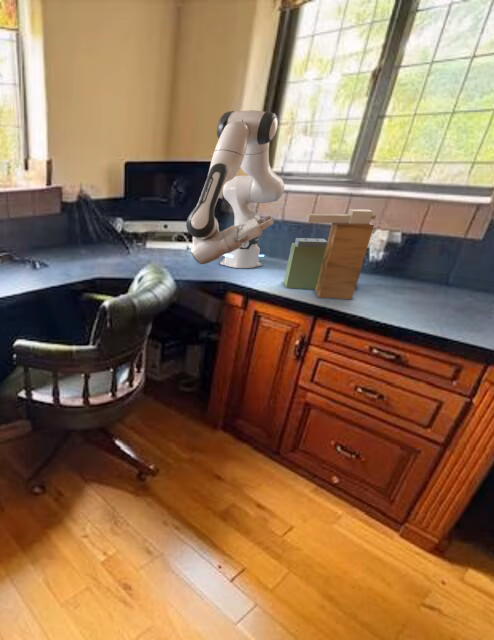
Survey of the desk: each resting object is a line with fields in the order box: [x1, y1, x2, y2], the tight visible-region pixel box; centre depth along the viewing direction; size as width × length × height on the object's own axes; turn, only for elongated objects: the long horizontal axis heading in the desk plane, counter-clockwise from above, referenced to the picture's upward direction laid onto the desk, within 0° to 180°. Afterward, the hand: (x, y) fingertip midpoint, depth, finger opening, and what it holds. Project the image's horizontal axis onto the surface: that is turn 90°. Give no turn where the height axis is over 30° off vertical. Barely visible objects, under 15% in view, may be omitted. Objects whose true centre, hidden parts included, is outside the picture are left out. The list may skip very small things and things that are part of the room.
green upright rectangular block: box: [283, 237, 328, 290], centre depth 166 cm, size 8×12×18 cm, turn 74°
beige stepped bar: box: [306, 208, 377, 224], centre depth 146 cm, size 5×21×4 cm, turn 74°
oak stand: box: [314, 222, 375, 300], centre depth 152 cm, size 8×11×26 cm
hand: (271, 218), depth 152 cm, fingers open, 8 cm apart
